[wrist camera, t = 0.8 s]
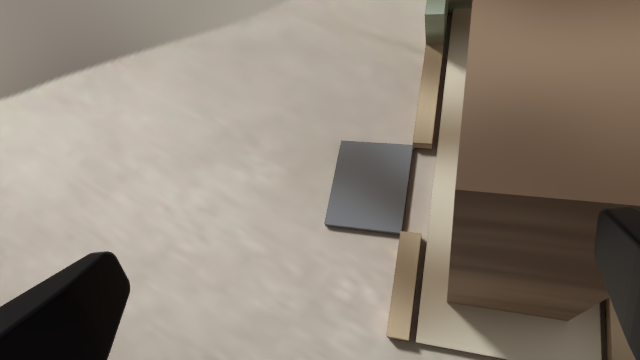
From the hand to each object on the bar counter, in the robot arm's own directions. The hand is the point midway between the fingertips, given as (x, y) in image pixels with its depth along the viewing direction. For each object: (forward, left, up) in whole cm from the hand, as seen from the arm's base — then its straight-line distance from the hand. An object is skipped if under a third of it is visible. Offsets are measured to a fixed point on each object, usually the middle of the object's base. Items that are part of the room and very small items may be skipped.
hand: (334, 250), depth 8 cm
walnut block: (+2, -9, -14) cm, 17 cm away
